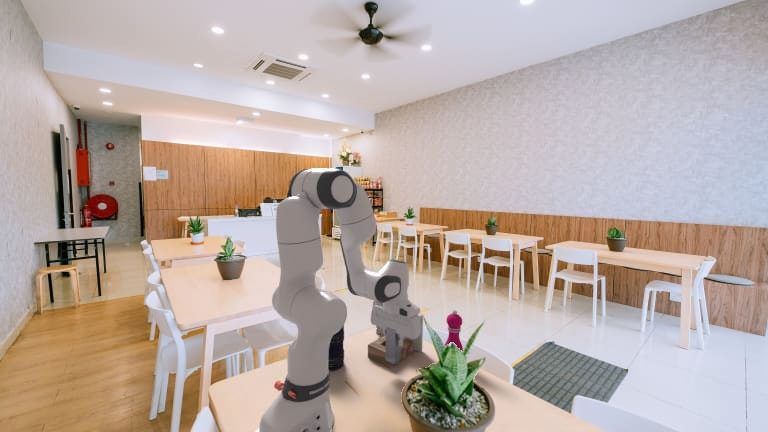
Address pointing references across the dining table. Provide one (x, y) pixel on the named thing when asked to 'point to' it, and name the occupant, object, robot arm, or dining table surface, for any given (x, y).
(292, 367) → the robot arm
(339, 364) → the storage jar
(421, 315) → the pale green stepped block
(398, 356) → the peg
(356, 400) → the dining table surface
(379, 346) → the socket
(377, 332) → the tea bag
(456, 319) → the pepper mill
